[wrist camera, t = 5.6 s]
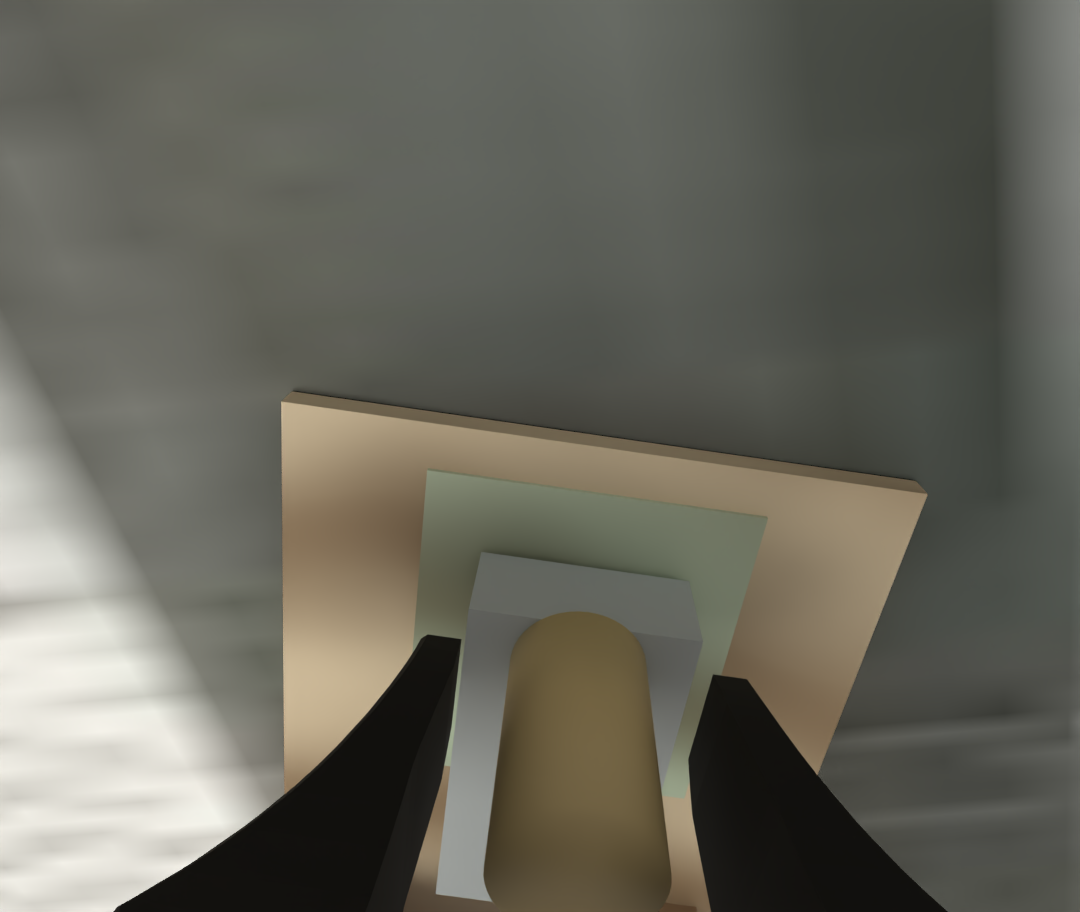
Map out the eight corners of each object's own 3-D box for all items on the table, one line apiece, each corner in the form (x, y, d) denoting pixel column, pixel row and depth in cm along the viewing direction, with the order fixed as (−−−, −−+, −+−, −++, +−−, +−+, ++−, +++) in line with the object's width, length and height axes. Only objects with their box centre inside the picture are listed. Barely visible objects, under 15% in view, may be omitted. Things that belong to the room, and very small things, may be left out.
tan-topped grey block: (621, 843, 19) (638, 1160, 13) (449, 819, 19) (391, 1127, 13) (692, 569, 16) (757, 836, 10) (483, 539, 16) (425, 790, 10)
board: (681, 1093, 25) (683, 1118, 25) (293, 1041, 25) (285, 1066, 24) (915, 481, 16) (930, 496, 15) (291, 391, 16) (279, 403, 15)
